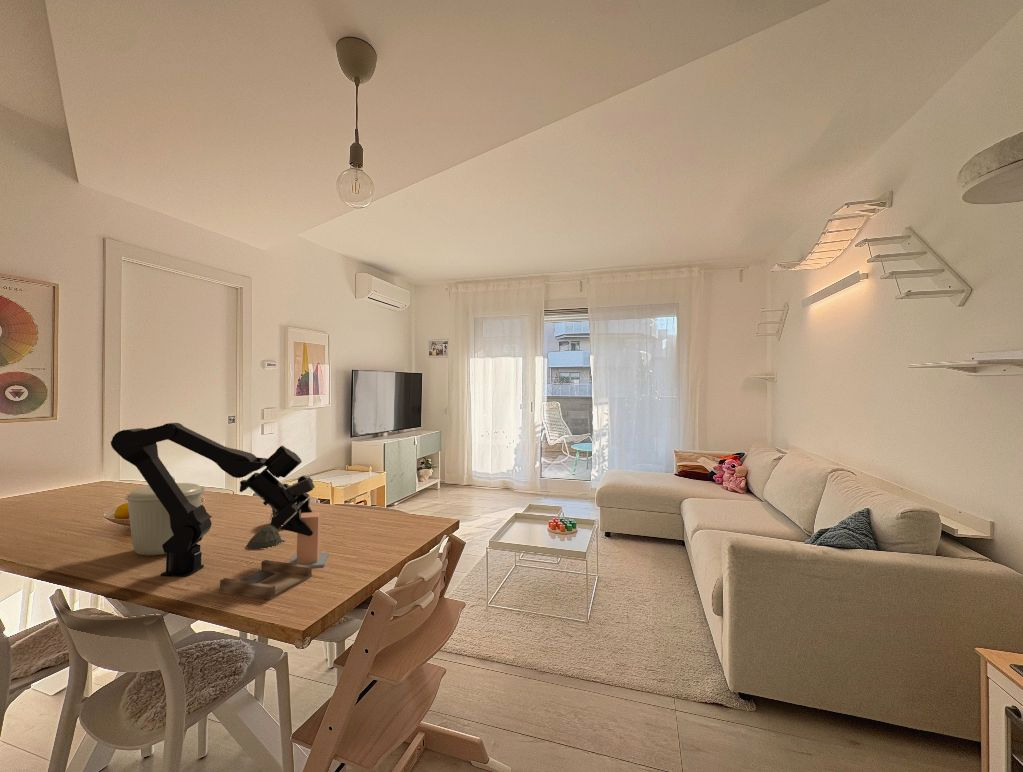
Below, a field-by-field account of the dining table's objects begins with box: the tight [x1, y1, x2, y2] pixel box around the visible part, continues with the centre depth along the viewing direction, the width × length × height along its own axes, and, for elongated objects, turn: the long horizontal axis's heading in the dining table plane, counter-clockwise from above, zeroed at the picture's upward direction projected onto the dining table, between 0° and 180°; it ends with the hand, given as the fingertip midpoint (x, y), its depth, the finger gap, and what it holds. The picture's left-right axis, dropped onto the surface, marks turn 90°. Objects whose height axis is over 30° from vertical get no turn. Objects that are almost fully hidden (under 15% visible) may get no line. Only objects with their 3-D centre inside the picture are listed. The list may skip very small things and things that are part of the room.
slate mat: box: [288, 552, 330, 569], centre depth 116 cm, size 9×9×1 cm
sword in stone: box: [245, 510, 284, 550], centre depth 130 cm, size 10×8×12 cm
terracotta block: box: [296, 511, 322, 564], centre depth 116 cm, size 5×5×12 cm
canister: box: [124, 476, 206, 557], centre depth 124 cm, size 18×18×21 cm
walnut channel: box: [218, 559, 313, 601], centre depth 102 cm, size 14×13×3 cm
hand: (314, 529), depth 117 cm, fingers open, 9 cm apart
